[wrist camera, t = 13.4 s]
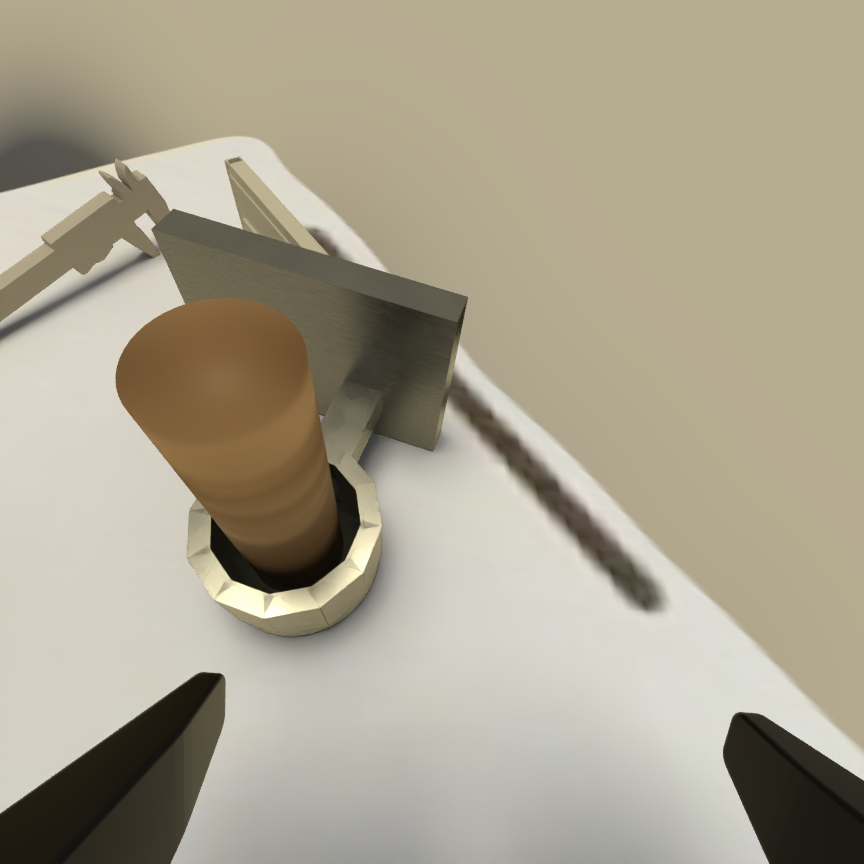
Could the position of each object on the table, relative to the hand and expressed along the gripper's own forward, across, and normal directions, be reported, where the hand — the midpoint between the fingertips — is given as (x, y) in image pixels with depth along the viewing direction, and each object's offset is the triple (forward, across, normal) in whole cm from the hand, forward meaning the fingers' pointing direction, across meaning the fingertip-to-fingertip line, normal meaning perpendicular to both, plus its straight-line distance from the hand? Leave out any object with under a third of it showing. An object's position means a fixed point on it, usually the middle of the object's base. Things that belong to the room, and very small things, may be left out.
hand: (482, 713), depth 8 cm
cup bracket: (+16, +8, +3) cm, 18 cm away
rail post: (+13, +6, +4) cm, 15 cm away
